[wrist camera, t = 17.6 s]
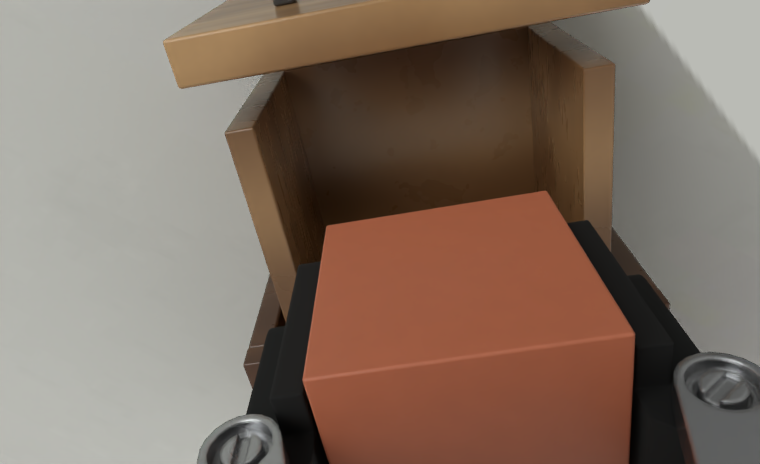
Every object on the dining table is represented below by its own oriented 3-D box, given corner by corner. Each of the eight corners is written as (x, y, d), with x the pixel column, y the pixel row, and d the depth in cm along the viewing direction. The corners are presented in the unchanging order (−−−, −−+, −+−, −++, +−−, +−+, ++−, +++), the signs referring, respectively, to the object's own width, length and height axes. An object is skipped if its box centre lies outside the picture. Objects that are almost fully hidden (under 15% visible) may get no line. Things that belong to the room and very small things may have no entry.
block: (325, 224, 12) (300, 380, 8) (547, 189, 11) (637, 333, 8) (366, 386, 14) (363, 571, 10) (554, 360, 14) (627, 542, 10)
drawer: (171, -203, 17) (52, -269, 11) (556, -289, 16) (672, -415, 10) (317, 308, 26) (298, 435, 20) (567, 270, 26) (632, 390, 19)
